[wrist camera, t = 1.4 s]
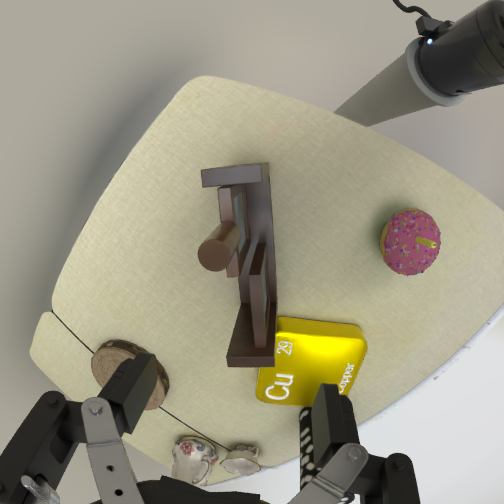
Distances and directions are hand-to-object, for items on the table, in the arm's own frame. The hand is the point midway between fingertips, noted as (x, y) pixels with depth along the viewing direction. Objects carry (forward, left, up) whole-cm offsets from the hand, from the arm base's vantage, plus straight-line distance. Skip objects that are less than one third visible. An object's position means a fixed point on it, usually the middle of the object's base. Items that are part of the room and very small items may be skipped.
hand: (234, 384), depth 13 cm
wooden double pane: (+1, -2, -27) cm, 27 cm away
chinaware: (+51, -17, -27) cm, 60 cm away
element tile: (+21, +5, -27) cm, 34 cm away
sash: (-3, -3, -25) cm, 26 cm away
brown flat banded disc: (+26, -28, -27) cm, 46 cm away
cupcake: (+1, +18, -27) cm, 33 cm away
